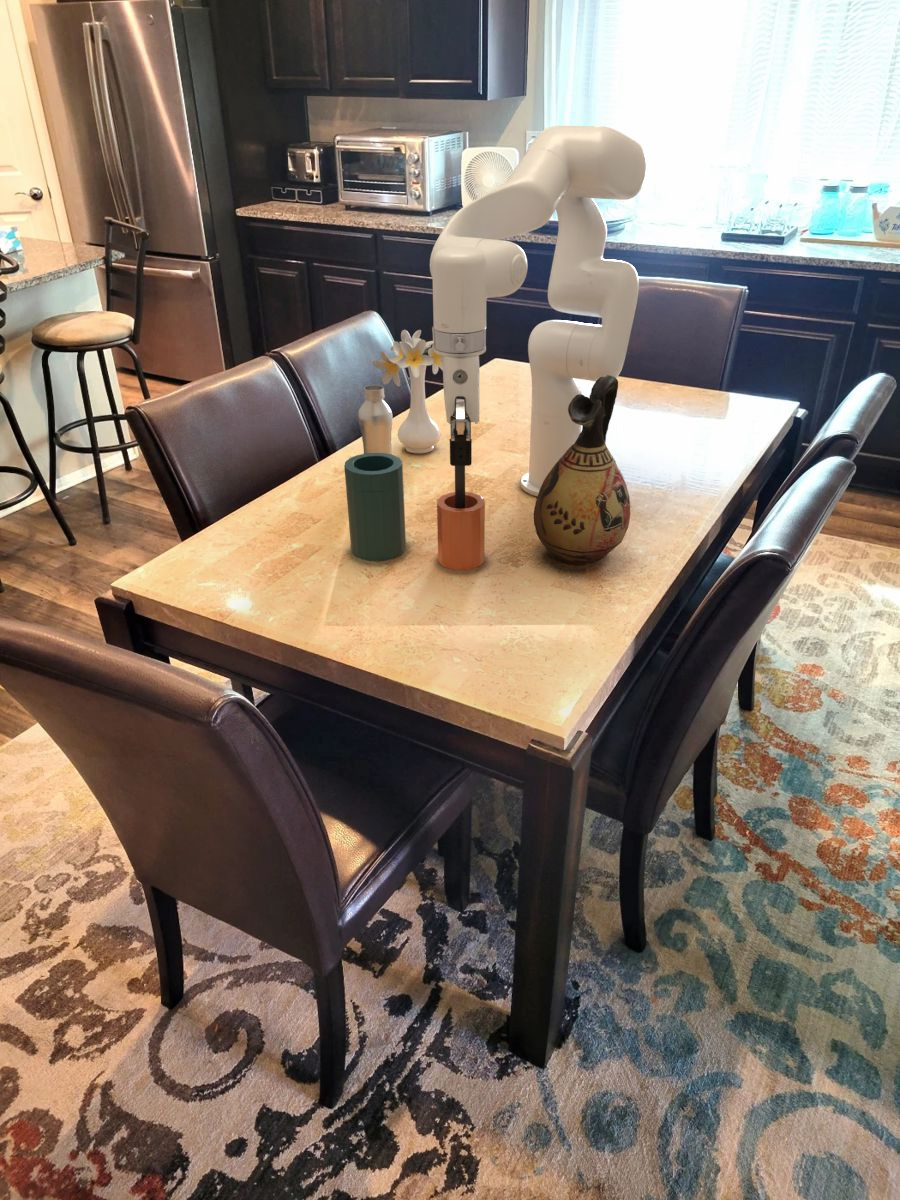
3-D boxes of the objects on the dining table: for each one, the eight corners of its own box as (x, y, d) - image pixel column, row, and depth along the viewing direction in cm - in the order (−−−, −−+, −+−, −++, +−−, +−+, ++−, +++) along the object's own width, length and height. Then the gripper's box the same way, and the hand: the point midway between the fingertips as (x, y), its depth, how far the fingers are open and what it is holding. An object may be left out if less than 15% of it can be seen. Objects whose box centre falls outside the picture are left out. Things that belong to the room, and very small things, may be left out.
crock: (483, 551, 144) (484, 491, 139) (484, 573, 138) (485, 511, 132) (438, 551, 144) (437, 491, 139) (437, 573, 138) (436, 512, 132)
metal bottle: (392, 495, 164) (387, 393, 154) (358, 492, 166) (351, 392, 155) (400, 482, 170) (396, 383, 160) (368, 480, 171) (361, 381, 161)
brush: (470, 554, 142) (470, 428, 131) (470, 563, 139) (470, 435, 128) (450, 554, 142) (449, 428, 131) (450, 564, 139) (449, 435, 128)
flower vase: (371, 459, 181) (363, 340, 168) (415, 432, 194) (411, 320, 181) (423, 470, 175) (420, 347, 162) (466, 441, 189) (465, 326, 176)
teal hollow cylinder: (407, 538, 148) (403, 452, 140) (404, 564, 141) (400, 474, 132) (354, 539, 149) (348, 452, 140) (348, 564, 141) (341, 474, 132)
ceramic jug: (603, 589, 133) (620, 402, 117) (515, 565, 140) (521, 385, 124) (643, 546, 145) (663, 371, 129) (560, 526, 152) (571, 358, 137)
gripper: (487, 356, 115) (486, 474, 124) (484, 325, 130) (483, 433, 138) (432, 357, 115) (435, 475, 124) (435, 326, 130) (437, 433, 139)
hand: (460, 452), depth 131 cm, fingers open, 9 cm apart
